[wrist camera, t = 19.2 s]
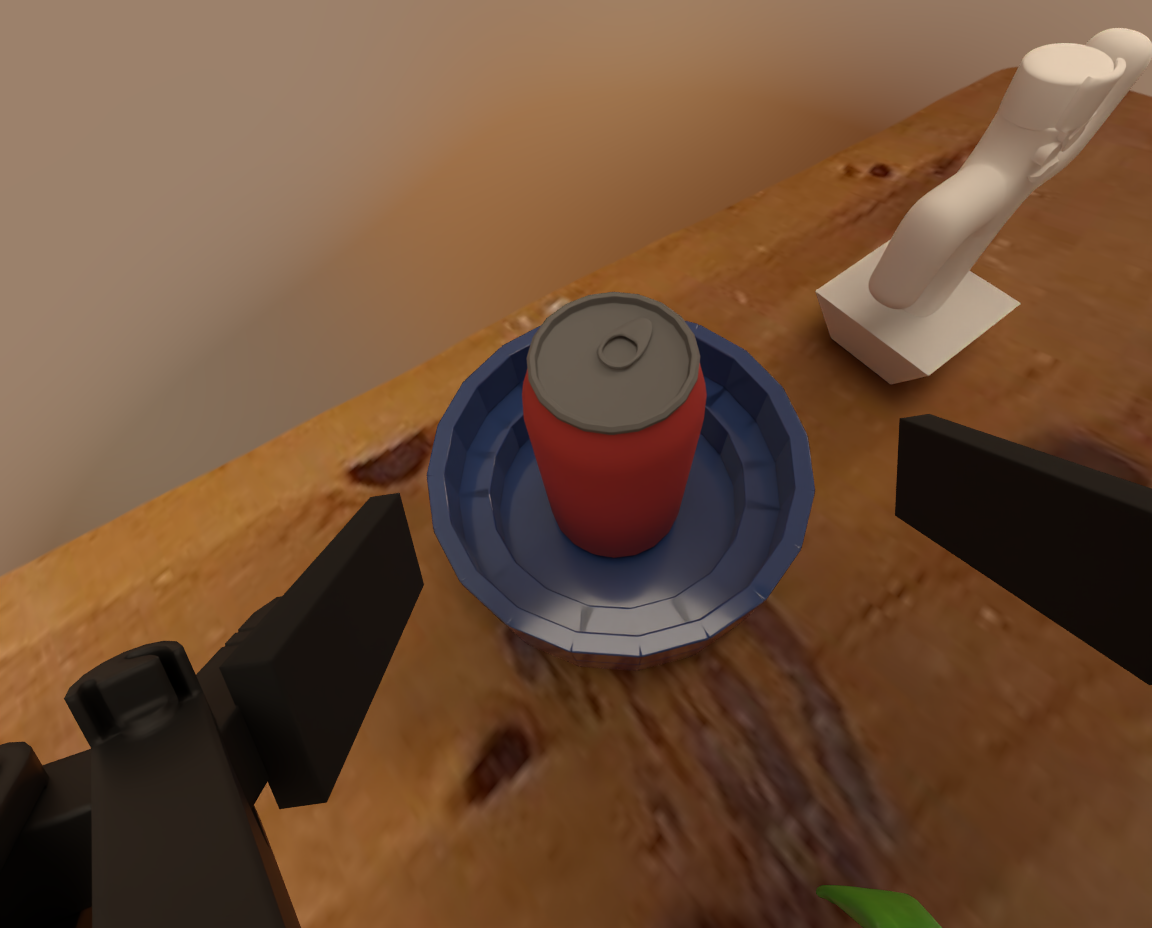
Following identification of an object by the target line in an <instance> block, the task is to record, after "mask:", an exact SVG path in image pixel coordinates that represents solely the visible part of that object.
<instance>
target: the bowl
mask: <svg viewBox="0 0 1152 928" xmlns="http://www.w3.org/2000/svg"><path fill="white" fill-rule="evenodd" d="M685 323H686V324H687V325H688V327H689V328H690V329H691V331H692V332H693V334H694V335H695V338H696V342H697V346H698V349H699V353H700V365H701V369H702V373H703V377H704V380H705V385H706V393H707V397H706V405H705V414H704V421H703V424H702V428H701V432H700V435H699V439H698V443H697V447H696V450H695V454H694V458H693V461H692V465H691V469H690V472H689V476H688V480H687V483H686V487H685V491H684V495H683V498H682V502H681V506H680V509H679V513H678V516H677V518H676V520H675V522H674V523H673V525H672V527H671V529H670V531H669V533H668V534H667V535H666V536H664V537H663V538H662V539H661V540H660V541H659V542H658V543H657V544H656V545H655V546H654V547H651V548H649V549H647V550H645V551H643V552H641V553H639V554H637V555H632V556H624V557H617V558H612V557H606V556H601V555H595V554H592V553H590V552H588V551H586V550H584V549H582V548H580V547H578V546H577V545H575V544H574V543H573V542H572V541H571V540H570V539H569V538H568V537H567V536H566V535H565V534H564V533H563V532H562V531H561V530H560V528H559V526H558V523H557V521H556V519H555V517H554V515H553V513H552V509H551V506H550V503H549V500H548V496H547V493H546V490H545V487H544V483H543V480H542V477H541V474H540V470H539V467H538V464H537V460H536V457H535V454H534V451H533V447H532V444H531V441H530V438H529V434H528V431H527V428H526V425H525V421H524V415H523V402H522V389H523V382H524V379H525V375H526V372H527V355H528V351H529V348H530V345H531V341H532V338H533V336H534V335H535V333H536V332H537V331H538V329H539V328H540V326H539V327H537V328H535V329H533V330H531V331H529V332H527V333H526V334H524V335H522V336H520V337H518V338H516V339H514V340H512V341H510V342H508V343H506V344H504V345H503V346H502V347H501V348H499V349H498V350H497V351H496V352H495V353H494V354H493V355H492V356H491V357H490V358H488V359H487V360H486V361H485V362H484V363H483V364H482V365H481V366H480V367H479V368H478V369H477V370H475V371H474V372H473V373H472V374H471V375H470V376H469V377H468V378H467V379H466V380H465V381H464V382H463V383H462V385H461V386H460V388H459V390H458V392H457V393H456V395H455V397H454V398H453V400H452V402H451V403H450V405H449V407H448V408H447V410H446V412H445V414H444V415H443V417H442V419H441V420H440V422H439V424H438V426H437V431H436V435H435V440H434V444H433V449H432V453H431V458H430V463H429V467H428V472H427V483H428V491H429V499H430V507H431V515H432V523H433V529H434V533H435V535H436V537H437V539H438V541H439V543H440V544H441V546H442V548H443V550H444V552H445V554H446V556H447V558H448V560H449V562H450V564H451V566H452V568H453V570H454V571H455V573H456V575H457V577H458V579H459V581H460V582H461V584H462V585H463V586H464V587H465V588H466V589H467V590H469V591H470V592H471V593H472V594H473V595H474V596H475V597H476V598H477V599H478V600H479V601H480V602H481V603H482V604H484V605H485V606H486V607H487V608H488V609H489V610H490V611H491V612H492V613H493V614H494V615H495V616H497V617H498V618H499V619H500V620H501V621H502V622H503V623H504V624H505V625H506V626H507V627H509V628H510V629H511V630H512V631H513V632H514V633H515V634H516V635H517V636H518V637H519V638H521V639H522V640H523V641H524V642H525V643H527V644H528V645H530V646H532V647H535V648H537V649H539V650H541V651H544V652H546V653H548V654H551V655H553V656H555V657H558V658H560V659H562V660H565V661H567V662H569V663H572V664H574V665H576V666H581V667H592V668H606V669H620V670H633V671H636V670H642V669H646V668H650V667H654V666H657V665H661V664H665V663H668V662H672V661H676V660H680V659H683V658H687V657H691V656H693V655H695V654H697V653H698V652H700V651H701V650H703V649H704V648H706V647H707V646H708V645H710V644H711V643H713V642H714V641H716V640H717V639H719V638H720V637H721V636H723V635H724V634H726V633H727V632H729V631H730V630H732V629H733V628H734V627H736V626H737V625H739V624H740V623H741V622H742V621H743V620H744V619H745V618H747V617H748V616H749V615H750V614H751V613H752V612H753V611H754V610H755V609H757V608H758V607H759V606H760V605H761V604H762V603H763V602H764V601H765V600H766V599H767V598H768V596H769V595H770V594H771V592H772V591H773V589H774V588H775V586H776V585H777V583H778V582H779V581H780V579H781V578H782V576H783V575H784V573H785V572H786V571H787V569H788V568H789V566H790V565H791V563H792V562H793V560H794V559H795V558H796V556H797V555H798V553H799V552H800V550H801V548H802V544H803V540H804V536H805V532H806V528H807V523H808V519H809V515H810V511H811V507H812V503H813V498H814V494H815V486H814V479H813V471H812V463H811V456H810V448H809V441H808V436H807V433H806V431H805V429H804V428H803V426H802V424H801V422H800V420H799V418H798V416H797V414H796V412H795V410H794V408H793V406H792V404H791V402H790V400H789V398H788V396H787V394H786V392H785V390H784V389H783V387H782V386H781V385H780V384H779V383H778V382H777V381H776V380H775V379H774V378H773V377H772V376H771V375H770V374H769V373H768V372H767V371H766V370H765V369H764V368H763V367H762V366H761V365H760V364H759V363H758V362H757V361H756V360H755V359H754V358H753V357H752V356H751V355H750V354H749V353H748V352H747V351H746V350H745V351H744V349H742V348H741V347H739V346H737V345H735V344H733V343H732V342H730V341H728V340H726V339H725V338H723V337H721V336H719V335H717V334H716V333H714V332H712V331H710V330H708V329H707V328H705V327H703V326H701V325H698V324H696V323H692V322H688V321H685Z"/></svg>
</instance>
